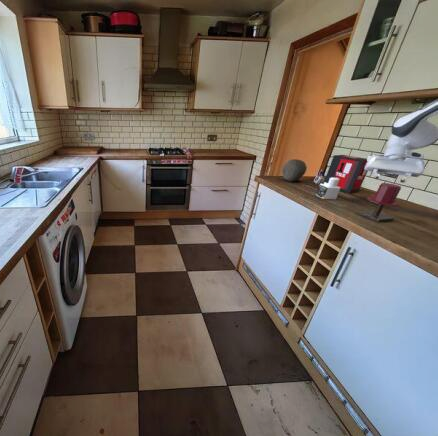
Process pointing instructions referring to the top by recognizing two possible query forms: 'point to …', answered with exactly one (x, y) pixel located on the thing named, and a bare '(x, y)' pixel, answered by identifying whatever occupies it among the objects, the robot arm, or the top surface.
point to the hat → (386, 194)
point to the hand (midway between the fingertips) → (389, 179)
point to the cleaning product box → (348, 172)
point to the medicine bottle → (328, 188)
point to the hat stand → (376, 214)
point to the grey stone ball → (294, 170)
